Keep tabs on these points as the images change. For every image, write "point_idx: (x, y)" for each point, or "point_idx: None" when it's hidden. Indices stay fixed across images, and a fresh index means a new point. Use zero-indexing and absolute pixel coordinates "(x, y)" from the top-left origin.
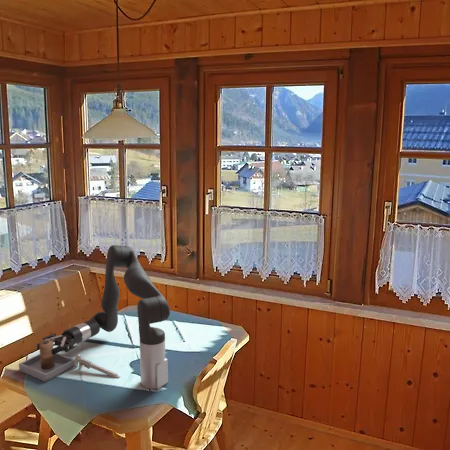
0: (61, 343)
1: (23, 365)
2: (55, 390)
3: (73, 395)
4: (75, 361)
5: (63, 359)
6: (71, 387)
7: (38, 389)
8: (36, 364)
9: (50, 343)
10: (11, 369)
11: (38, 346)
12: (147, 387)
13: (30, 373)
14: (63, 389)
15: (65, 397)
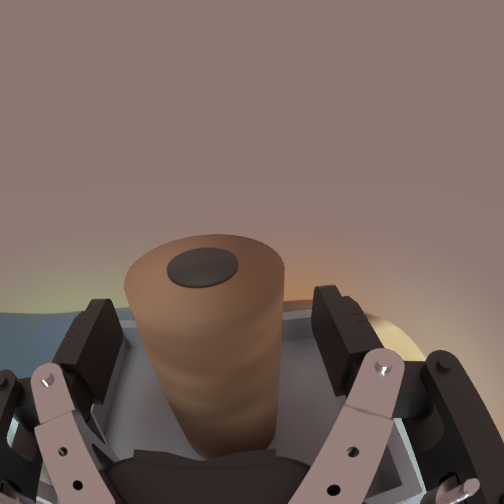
0: (73, 411)
1: (302, 311)
2: (61, 330)
3: (3, 332)
4: (40, 483)
5: None
6: (18, 360)
7: (122, 311)
8: (314, 395)
9: (137, 279)
10: (370, 323)
11: (314, 303)
12: None
13: None
14: (38, 343)
15: (20, 319)
